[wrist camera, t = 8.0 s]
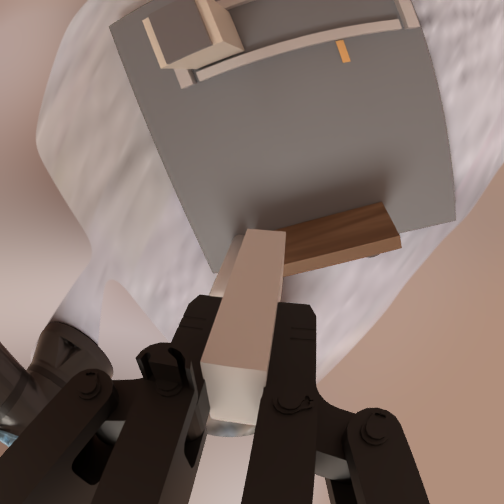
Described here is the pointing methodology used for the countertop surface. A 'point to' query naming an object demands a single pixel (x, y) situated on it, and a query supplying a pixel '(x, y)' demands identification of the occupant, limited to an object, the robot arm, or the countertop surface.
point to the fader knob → (192, 34)
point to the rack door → (339, 239)
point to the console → (297, 120)
